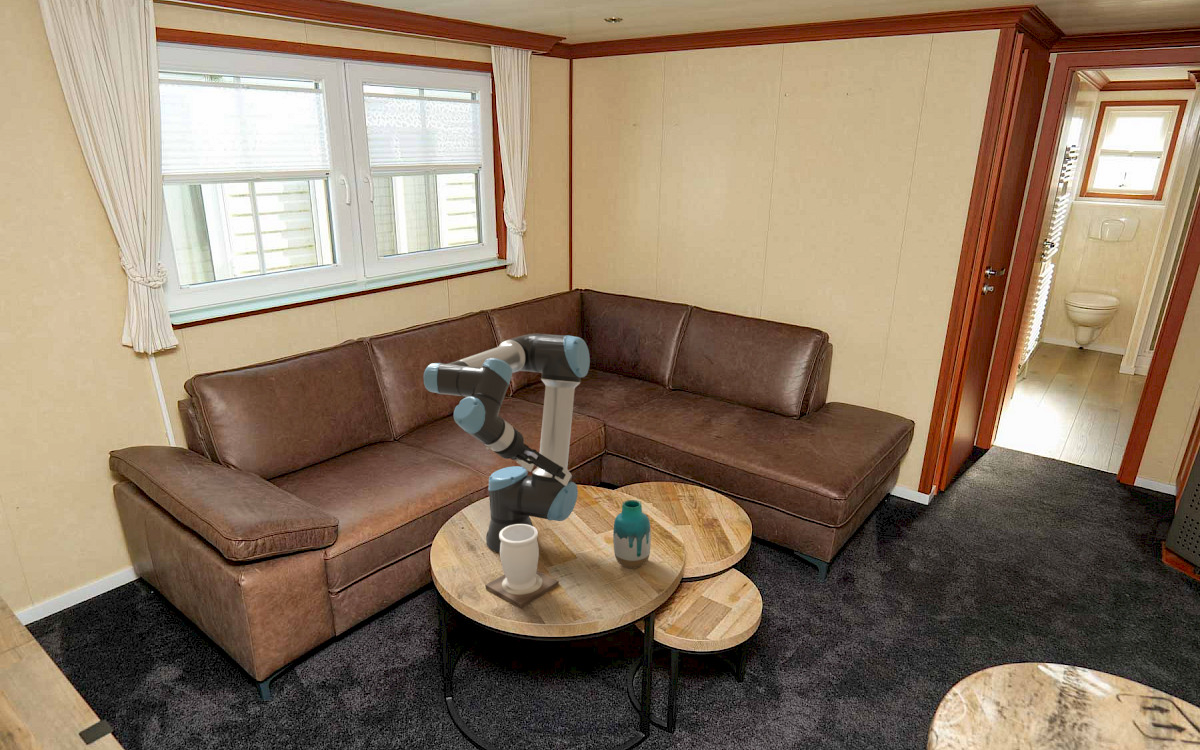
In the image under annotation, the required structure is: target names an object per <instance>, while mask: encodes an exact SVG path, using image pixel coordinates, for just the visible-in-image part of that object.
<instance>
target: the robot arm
mask: <svg viewBox="0 0 1200 750" xmlns="http://www.w3.org/2000/svg"><path fill="white" fill-rule="evenodd" d="M590 363H591V358H590V351H589V348H588V345H587V343H586V341H585V340H584V339H583V338H581V337H579V336H573V335H569V334H568V335H564V334H548V333H538V332H537V333H528V334H523V335H519V336H516V337H512V338H509V339H507V340H503V341H502V342H501V343H500V344H499V345H498V346H496V347H494V348H491V349H487V350H485V351H482V352H479V353H476V354H473V355H470V356H468V357H464V358H461V359H459V360H456V361H452V362H448V363H442V362H434V363H430V364H429V365H427V366H426V368H425V369H424V372H423V384H424V388H425V389H426V390H427V391H428V392H431V393H434V394H435V393H436V394H438V395H449V396H457V397H464V398H463V399H461V400H460V401H459V403H458V404H457V405H456V406H455V407H454V410H453V419H454V422H455V424H457V425H458V427H460V428H461V429H462V430H463V431H464V432H465V433H467V434H469V435H470V436H472V437H473V438H474V439H476V440H478V441H479V442H481V443H482V444H483V445H485V450H487V451H489V450H492V451H493V452H494V453H495V454H497V455H498V456H500V457H501V458H502V459H506V460H508V459H510V460H512V461H515V462H516V463H517V464H518V466H517V465H516V466H514V465H513V466H507V467H503V468H500V469H498V470H495V471H494V472H493V473H491V475H489V477H488V488H487V490H488V495H489V497H488V498H489V499H488V500H489V511H490V512H489V513H490V521H489V525H488V531H487V532H486V535H485V538H486V539H485V540H486V542H485V543H486V546H487V547H488V548H489V549H490V550H491V551H493V552H496V553H500V544H501V541H500V539H499V533H500V531H501V530H502V529H503V528H505V527H507V526H509V525H513V524H528V525H531V526H533V527H534V525H533V522H532V520H531V517H532V518H538V519H544V520H548V521H554V522H555V521H556V522H564V521H565V520H566V519H568V518H569V517H570V516H571V514H572V513H573V511H574V509H575V507H576V503H577V499H578V495H579V493H578V492H579V490H578V486H577V484H576V483H575V482H574V481H572V476H573V475H572V473H571V472H570V471H569V470H568V465H569V463H568V462H569V454H570V453H569V452H570V445H571V443H570V442H571V432H572V421H573V420H572V419H573V412H574V411H573V409H574V402H575V389H576V388H577V387H578V386H579V385H580V384H581V381H582V380H581V378H585V377H586V376H587V375H588V373H589V370H590ZM517 372H531V373H540V374H541V377H540V380H541V382H542V383H543V384H544V386H545V387H544V389H545V390H544V400H543V411H542V423H541V430H540V431H541V433H540V434H541V435H540V442H539V451H538V450H536V449H533V448H530V447H529V445H527V444H526V443H524V442H525V440H524V436H523V434H522V433H521V432H520V431H518V430H517V429H516V428H515V427H513V426H512V424H510V423H509V422H507V421H506V420H505V419H504V418H502V417H501V416H500V415H499V413H500V410H501V407H502V404H503V402H504V399H505V397H506V393H507V391H508V388H509V386H510V383H511V379H512V376H513V374H514V373H517ZM519 465H520V466H519ZM535 466H536V468H535V469H534V467H535ZM533 469H534V470H533ZM531 472H532V474H531V475H528V474H529V473H531Z"/></svg>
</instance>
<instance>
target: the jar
mask: <svg viewBox="0 0 1200 750" xmlns="http://www.w3.org/2000/svg"><path fill="white" fill-rule="evenodd" d="M538 536H539V533H538V529H537V527H535V526H534V525H533V526H531V525H528V524H513V525H509V526H507V527H505V528H503V529H502V530H501V531H500V533H499V539H500V541H501V544H500V552H499V557H500V562H501V567H502V571H503V575H505V577H506V581H505V583H506V585H507V587H509V588H510V589H513V590H526V589H529V588H531V587H532V586H533V585H534V584H535V583H536V577H535V574H536V571H538V565H539V563H538V562H539V558H540V555H539V554H540V550H539V549H540V548H539V544H538V542H539V541H538V540H537V538H538Z"/></svg>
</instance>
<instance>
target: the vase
mask: <svg viewBox="0 0 1200 750" xmlns="http://www.w3.org/2000/svg"><path fill="white" fill-rule="evenodd" d="M651 530H652V529H651V522H650V518H649V517H648V515H647V514H646V513H644V512H643V508H642V502H641V501H639V500H637V499H627V500H624V501H623V502H622V506H621V512H620V513H618V514H617V515H616V517H615V518H614V524H613V530H612V532H613V537H612V539H613V551H614V552H613V553H614V557H615V560H616V562H617V563H618V564H619V565H620V566H621V567H624V568H627V569H639V568H641V567H643V566H644V565H646V563H647V562H648V560H649V557H650V554H651V547H652V546H651V543H652V541H651V540H652V539H651V538H652V537H651V536H652V534H651V533H652V532H651Z"/></svg>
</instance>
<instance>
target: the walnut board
mask: <svg viewBox="0 0 1200 750" xmlns="http://www.w3.org/2000/svg"><path fill="white" fill-rule="evenodd" d="M535 577H536V583H535V584H534V585H533V586H532V587H531V588H529V589H526V590H513V589H510V588H509V587H507V585H506V583H505V581H506V577H505V575H504V574H502V575H501V576H499V577H498V578H496V579H494V580H492V581H490V582H489V583H487V584H485V590H487V591H489V592H490V593H492V594H495V595H496V596H497V597H500V598H502V599H504V600H505V601H507V602H509V603H511V604H513V606H516V607H518V608H519V609H523V608H524V607H526V606H528V605H529V604H531V603H532V602H534V601H536V600H537V599H539V598H540V597H542V596H543V595H545V594H547V593H549V592H550V591H551V590H553V589H555V588H556V587H558V586H559V585H560V584H559V580H557V579H555V578H553V577H552V576H549V575H548V574H545V573H544V572H541V571H539V570H537V571H536V574H535Z"/></svg>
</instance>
